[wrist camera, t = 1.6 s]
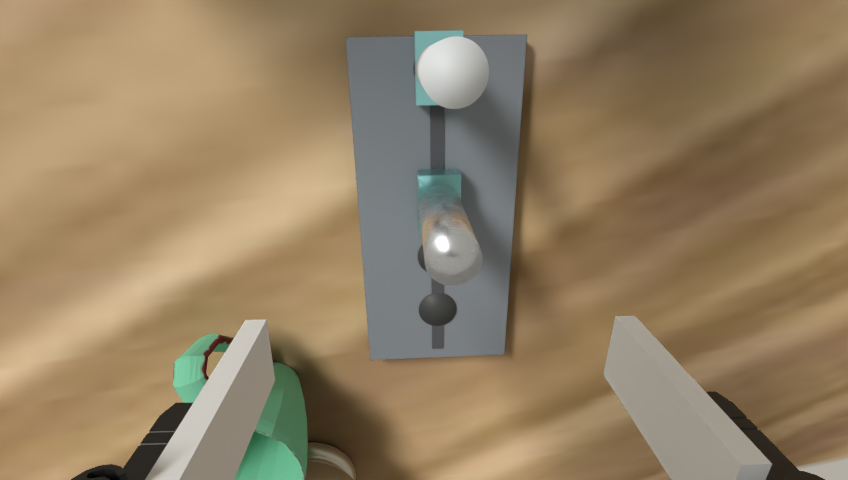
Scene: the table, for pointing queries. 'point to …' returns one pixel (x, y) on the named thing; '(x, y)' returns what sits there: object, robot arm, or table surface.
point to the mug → (278, 424)
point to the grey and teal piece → (435, 149)
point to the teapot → (328, 463)
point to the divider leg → (446, 228)
